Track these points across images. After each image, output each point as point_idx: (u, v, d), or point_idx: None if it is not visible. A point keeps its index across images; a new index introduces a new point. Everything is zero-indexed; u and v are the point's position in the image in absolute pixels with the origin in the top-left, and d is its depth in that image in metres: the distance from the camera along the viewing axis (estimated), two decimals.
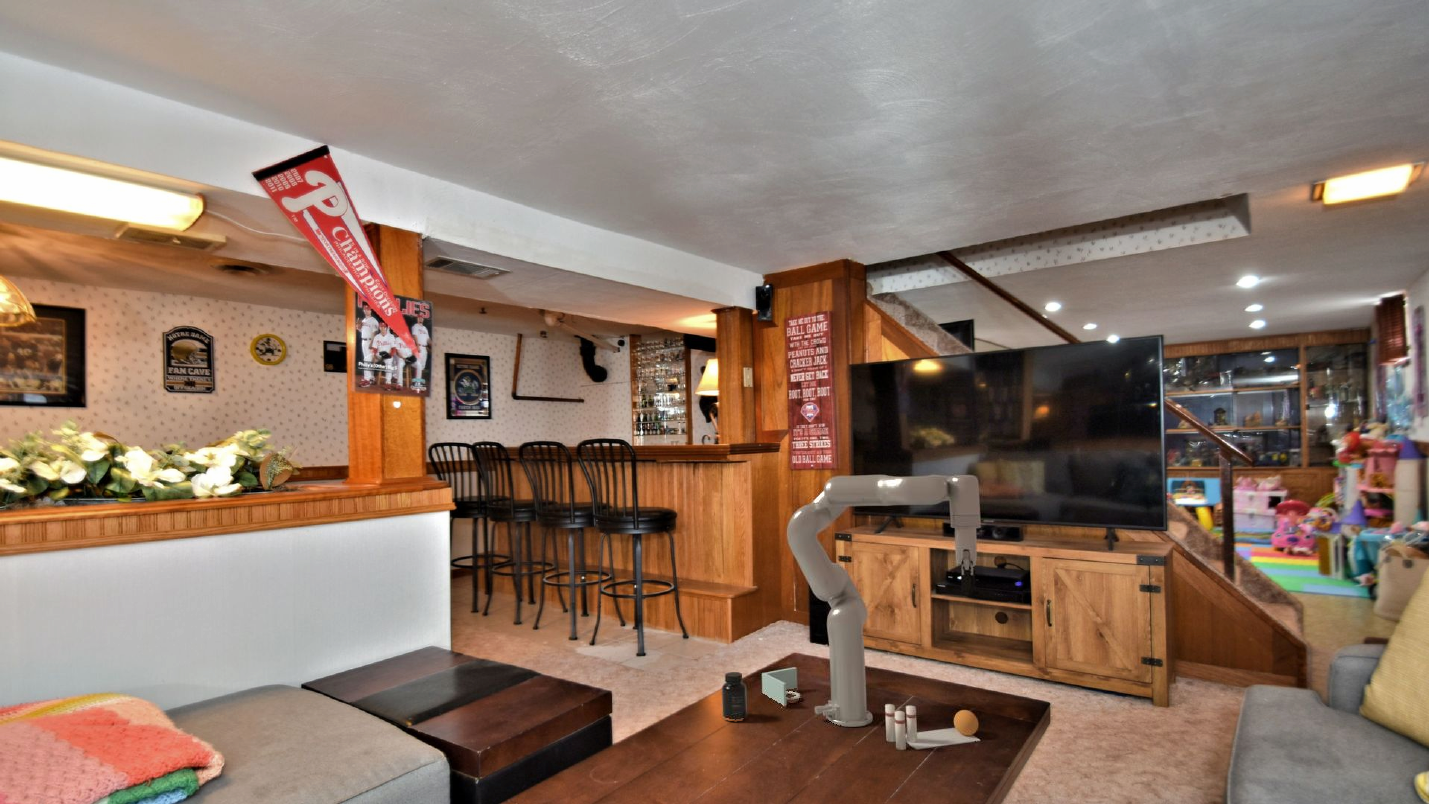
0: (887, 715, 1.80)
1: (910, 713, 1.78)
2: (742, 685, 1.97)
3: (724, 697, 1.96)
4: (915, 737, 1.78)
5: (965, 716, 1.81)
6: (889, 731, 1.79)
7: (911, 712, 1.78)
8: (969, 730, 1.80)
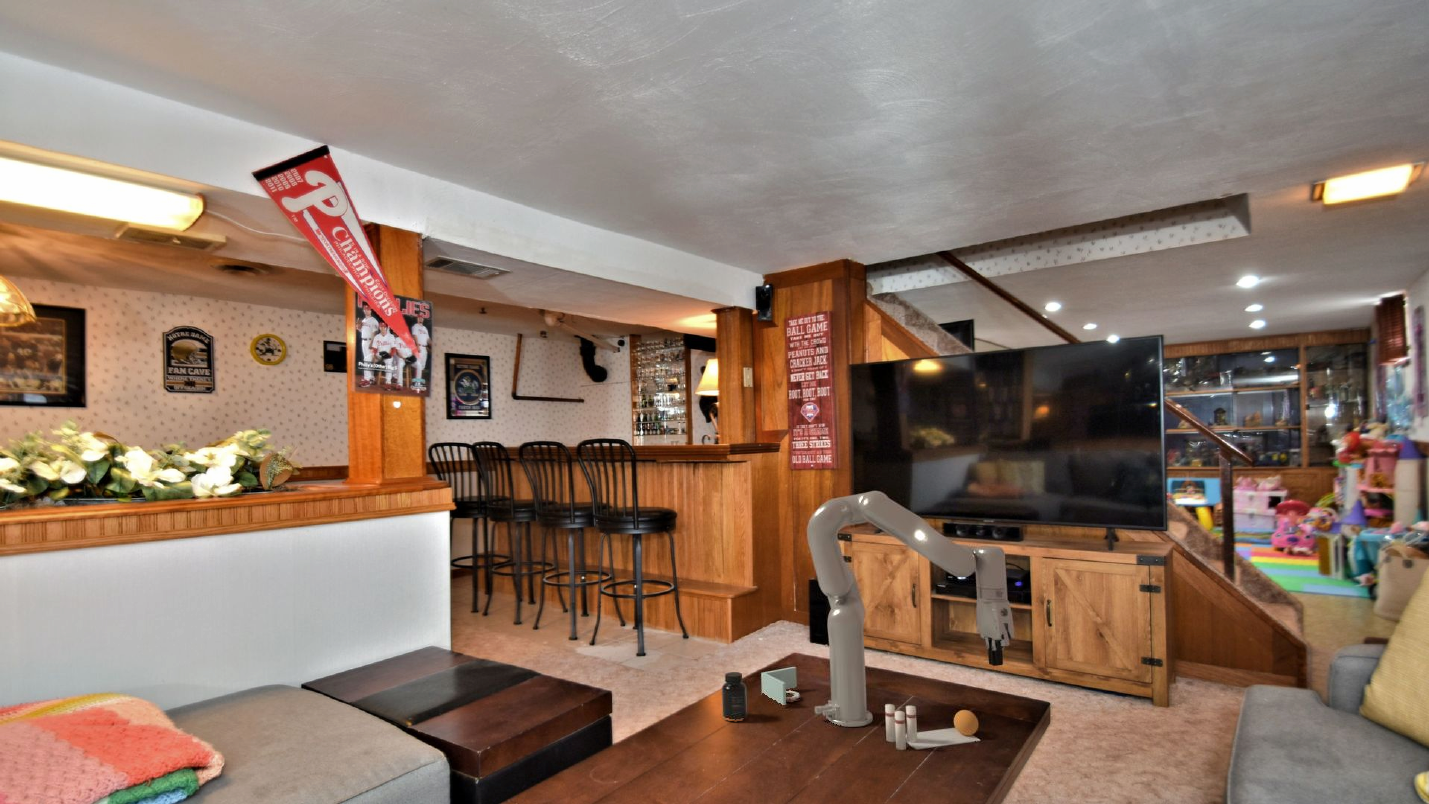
0: (887, 715, 1.80)
1: (910, 713, 1.78)
2: (742, 685, 1.97)
3: (724, 697, 1.96)
4: (915, 737, 1.78)
5: (965, 716, 1.81)
6: (889, 731, 1.79)
7: (911, 712, 1.78)
8: (969, 730, 1.80)
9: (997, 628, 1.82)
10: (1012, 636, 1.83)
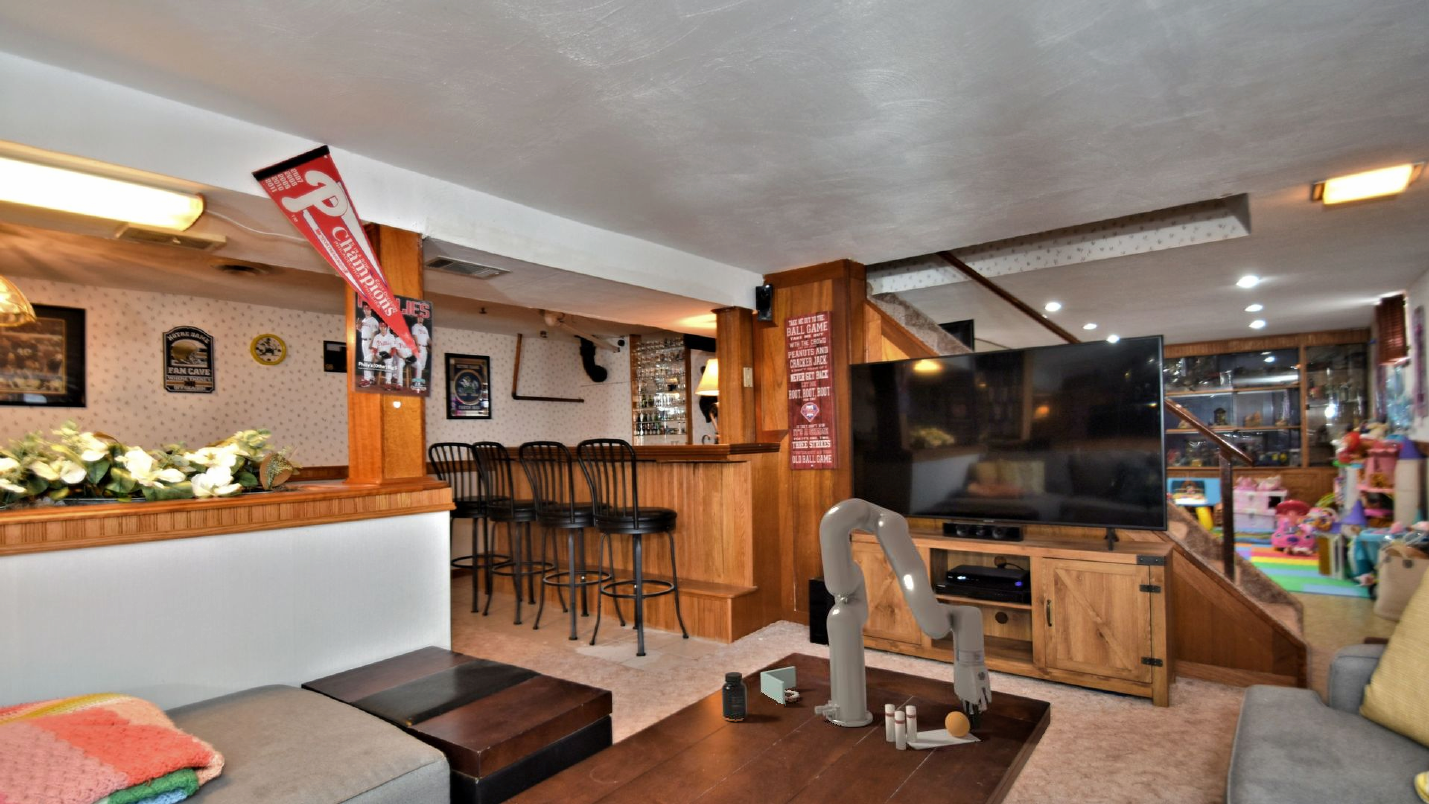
0: (887, 715, 1.80)
1: (910, 713, 1.78)
2: (742, 685, 1.97)
3: (724, 697, 1.96)
4: (915, 737, 1.78)
5: (953, 724, 1.80)
6: (889, 731, 1.79)
7: (911, 712, 1.78)
8: (964, 733, 1.79)
9: (974, 692, 1.79)
10: (989, 700, 1.79)
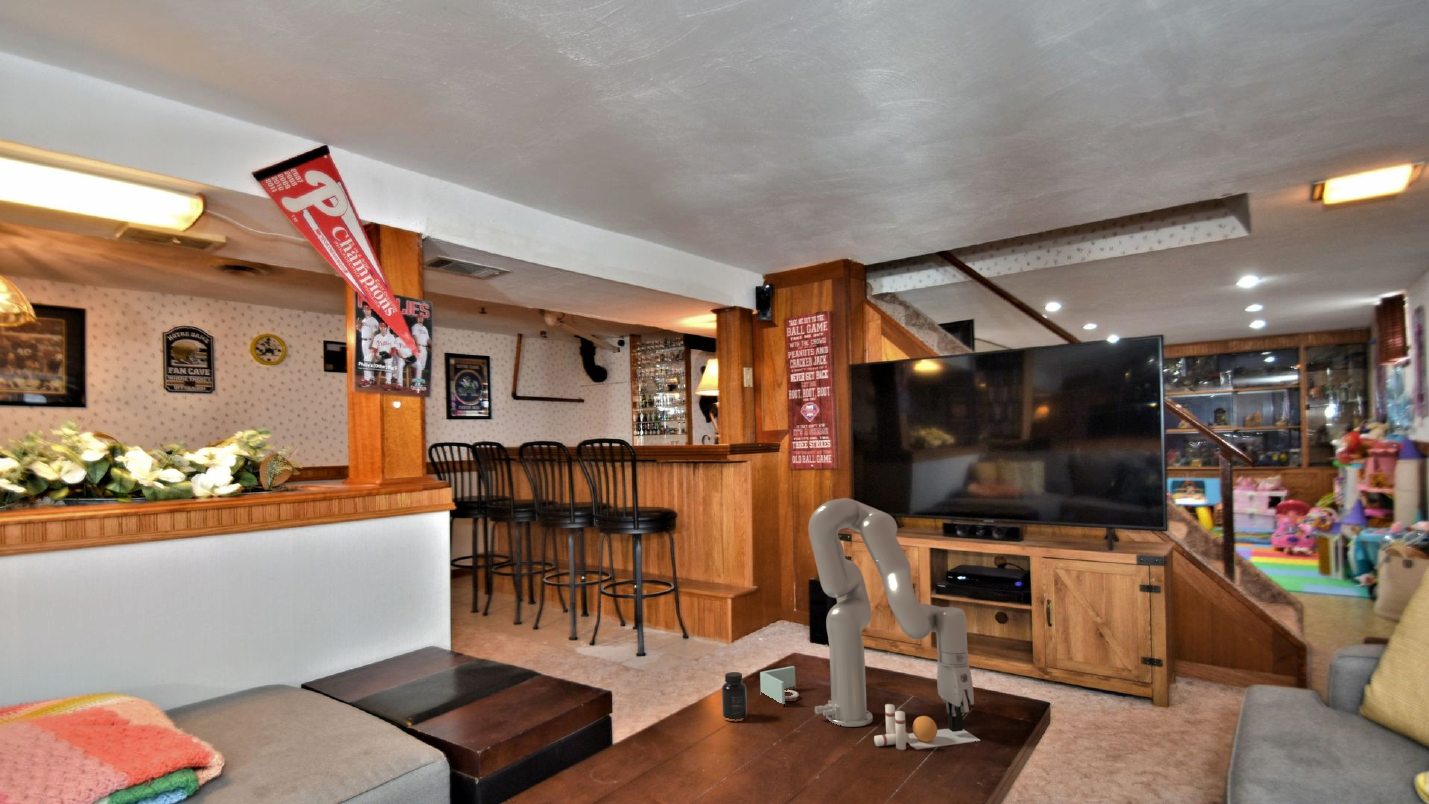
0: (887, 715, 1.80)
1: (882, 744, 1.76)
2: (742, 685, 1.97)
3: (724, 697, 1.96)
4: None
5: (936, 733, 1.78)
6: (889, 731, 1.79)
7: (881, 743, 1.76)
8: (930, 726, 1.77)
9: (956, 694, 1.78)
10: (972, 702, 1.78)
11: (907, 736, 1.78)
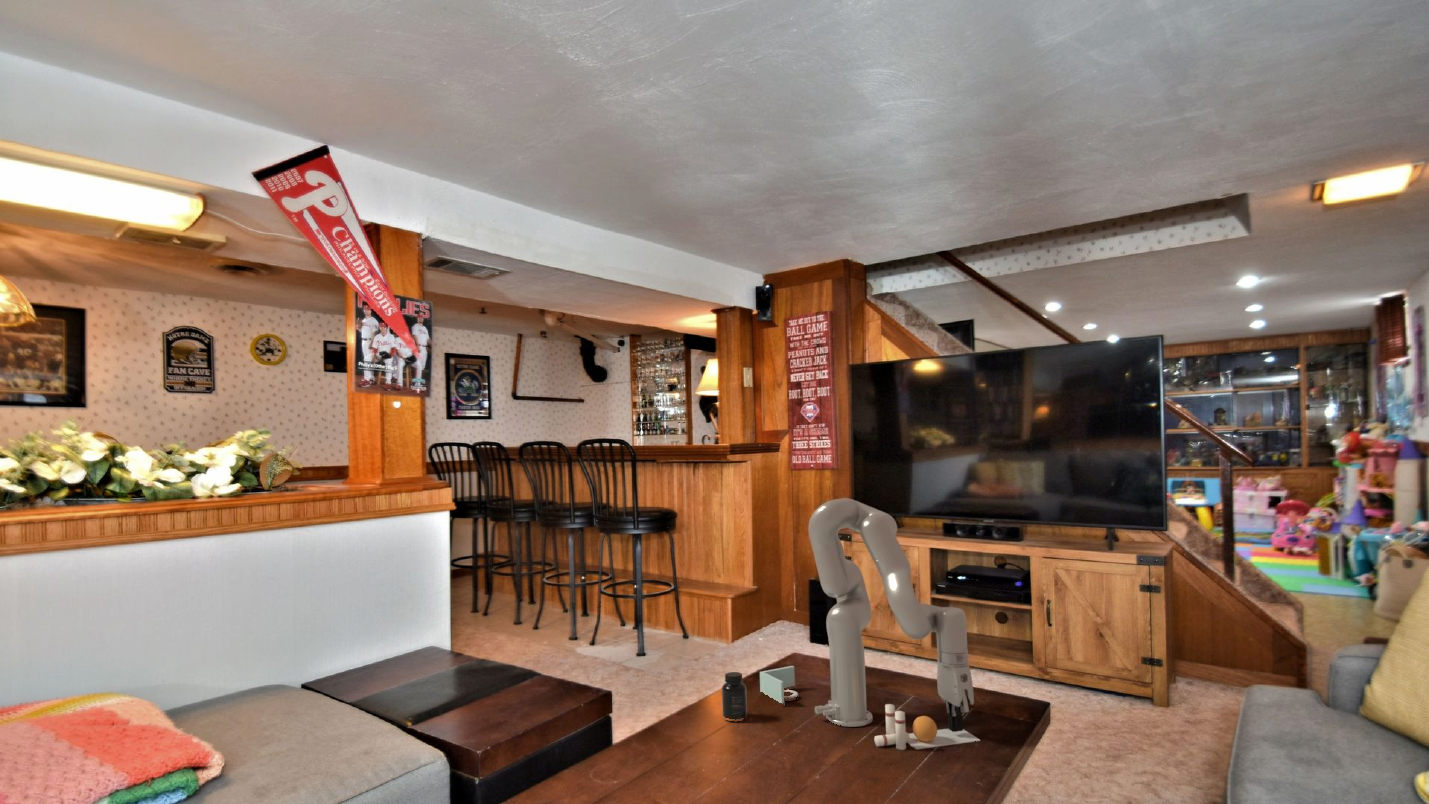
0: (887, 715, 1.80)
1: (882, 744, 1.76)
2: (742, 685, 1.97)
3: (724, 697, 1.96)
4: None
5: (936, 733, 1.78)
6: (889, 731, 1.79)
7: (882, 744, 1.76)
8: (930, 726, 1.77)
9: (956, 694, 1.78)
10: (972, 702, 1.78)
11: (907, 737, 1.78)
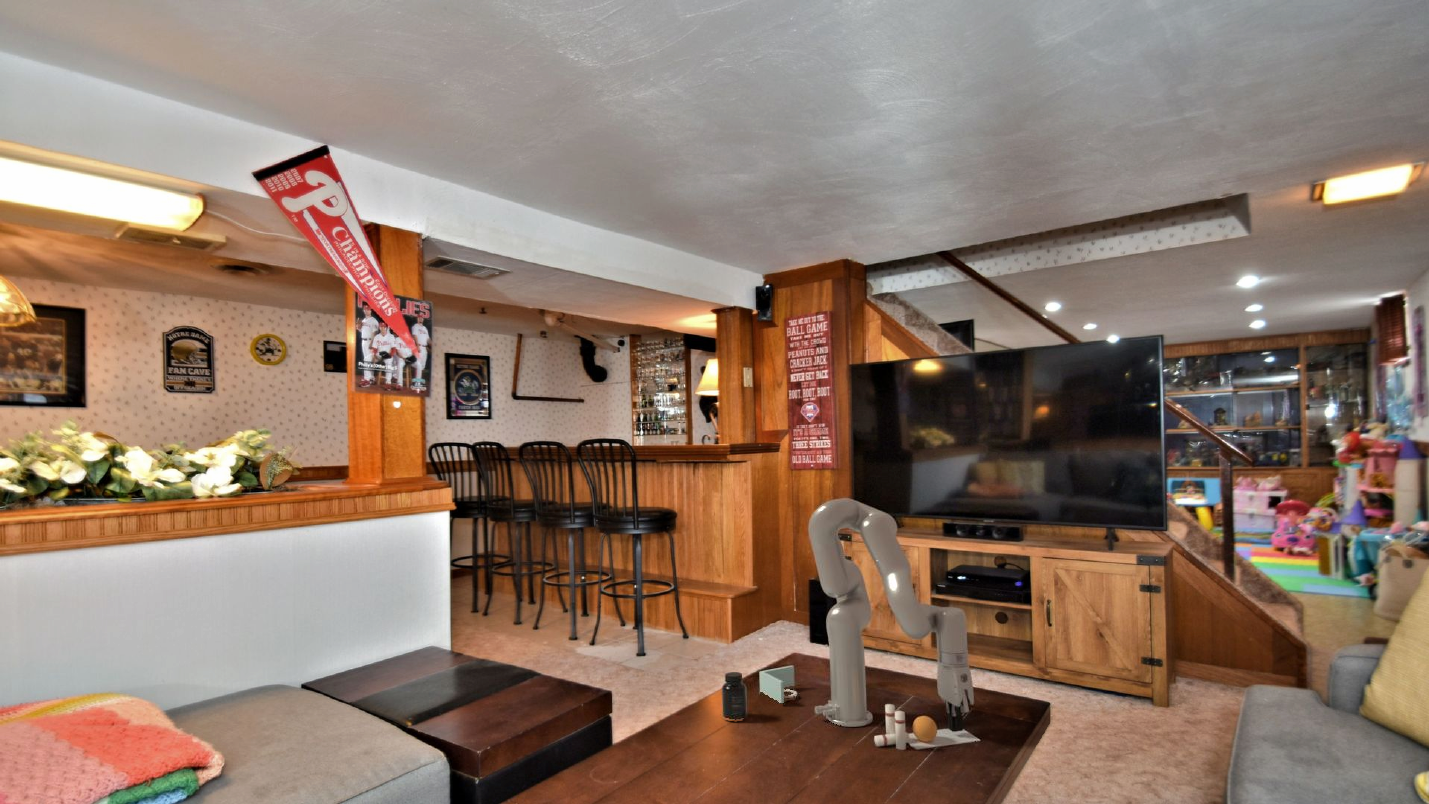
0: (887, 715, 1.80)
1: (882, 744, 1.76)
2: (742, 685, 1.97)
3: (724, 697, 1.96)
4: None
5: (936, 733, 1.78)
6: (889, 731, 1.79)
7: (881, 743, 1.76)
8: (930, 726, 1.77)
9: (956, 694, 1.78)
10: (972, 702, 1.78)
11: (907, 736, 1.78)
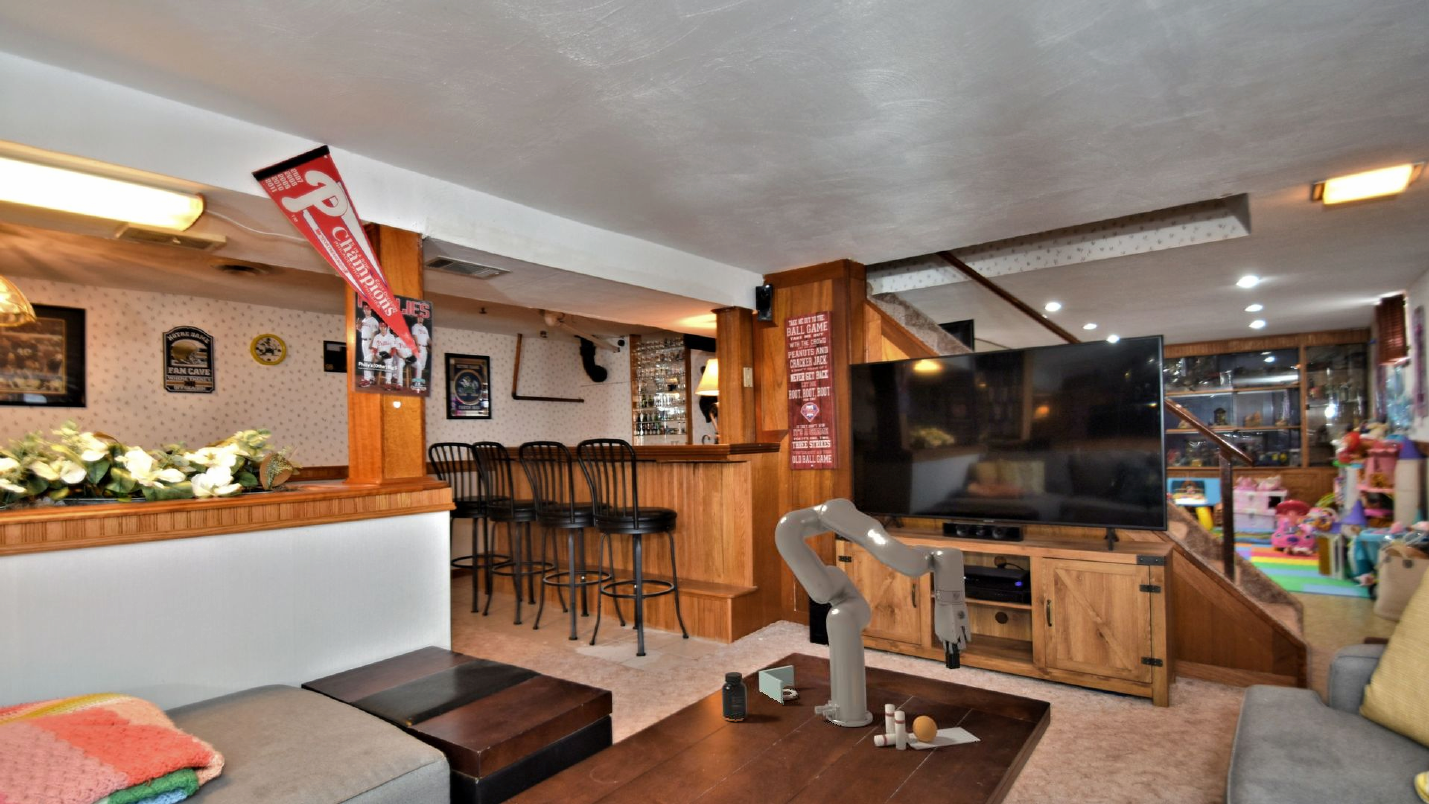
0: (887, 715, 1.80)
1: (882, 744, 1.76)
2: (742, 685, 1.97)
3: (724, 697, 1.96)
4: None
5: (936, 733, 1.78)
6: (889, 731, 1.79)
7: (881, 743, 1.76)
8: (930, 726, 1.77)
9: (953, 631, 1.79)
10: (969, 639, 1.80)
11: (907, 736, 1.78)
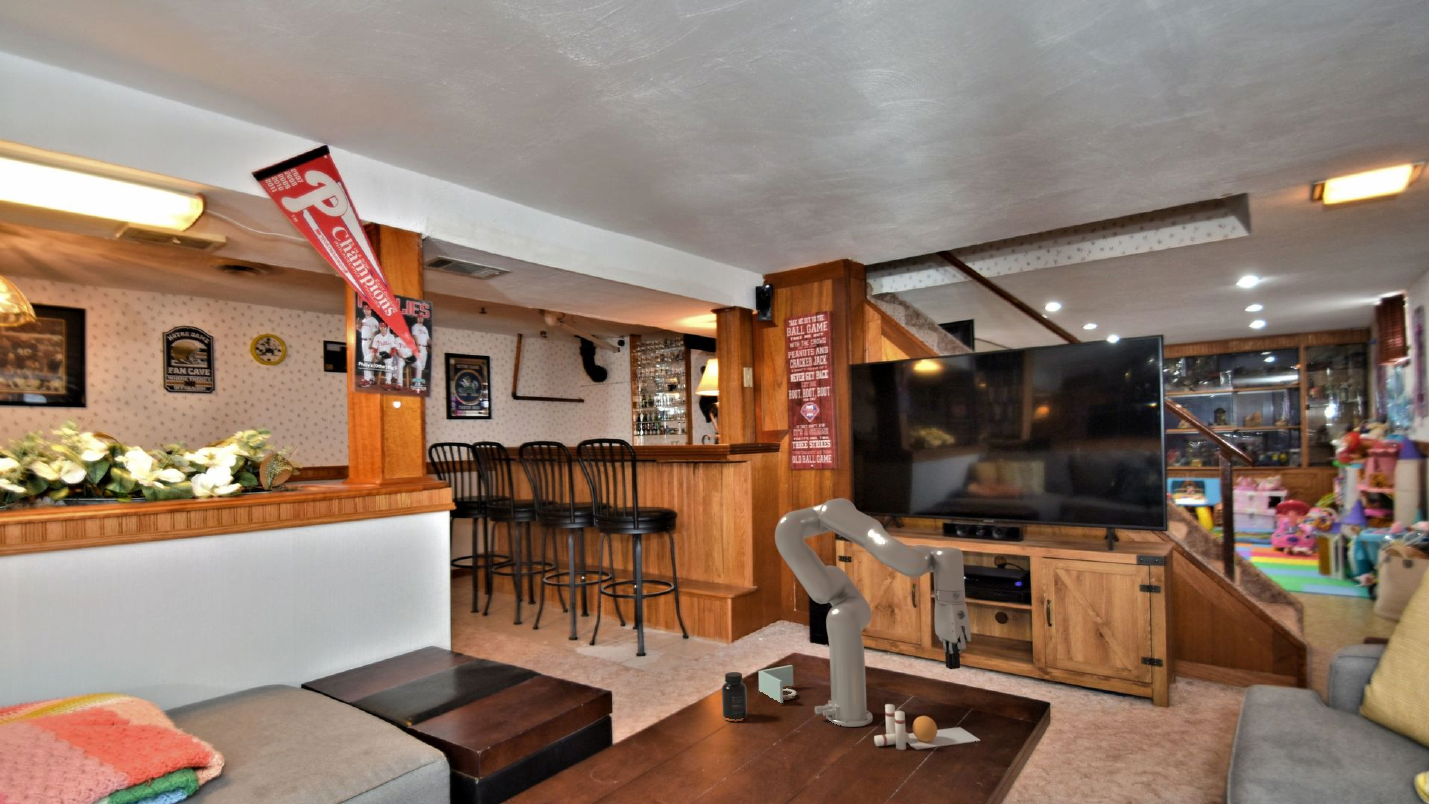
0: (887, 715, 1.80)
1: (882, 744, 1.76)
2: (742, 685, 1.97)
3: (724, 697, 1.96)
4: None
5: (936, 733, 1.78)
6: (889, 731, 1.79)
7: (881, 743, 1.76)
8: (930, 726, 1.77)
9: (953, 631, 1.79)
10: (969, 639, 1.80)
11: (907, 736, 1.78)
